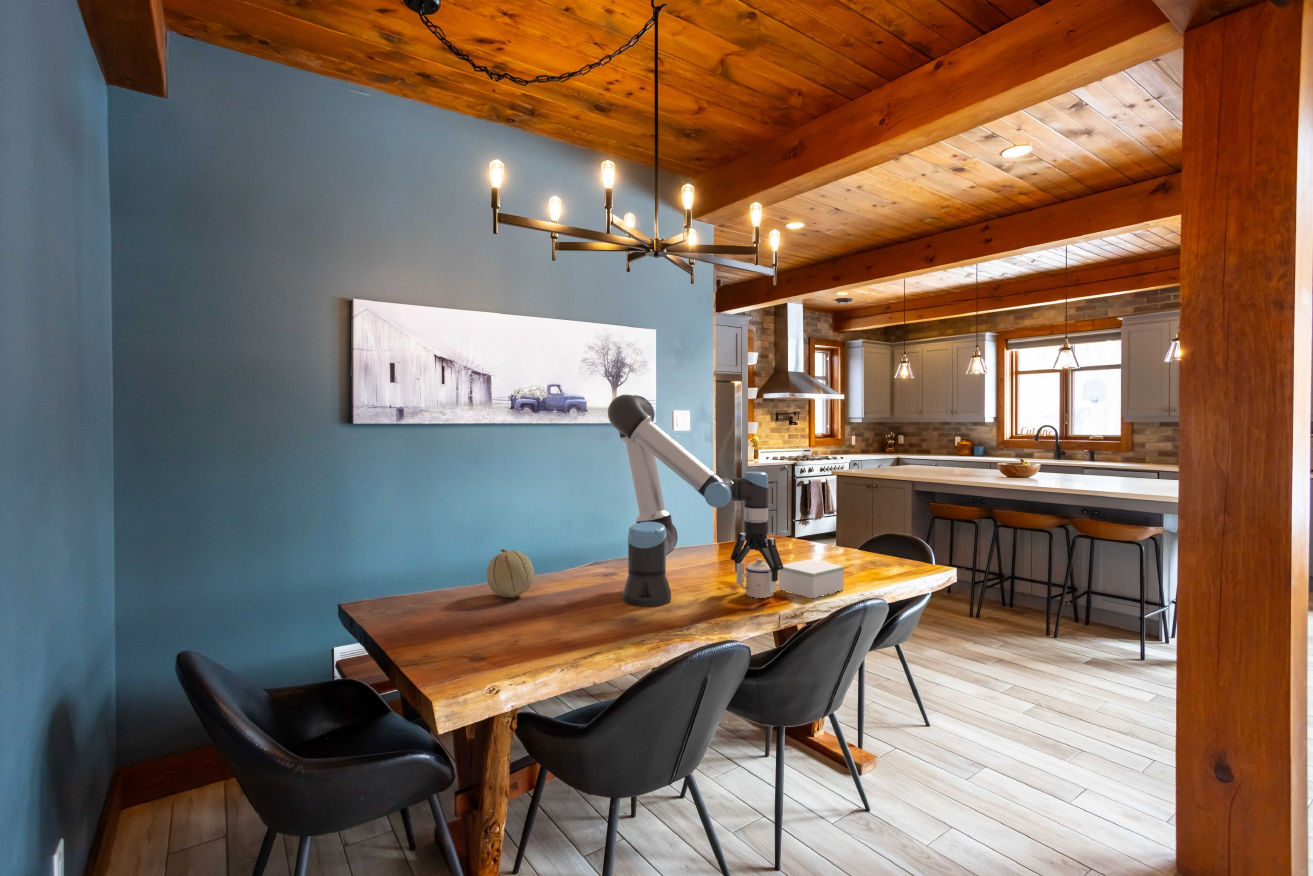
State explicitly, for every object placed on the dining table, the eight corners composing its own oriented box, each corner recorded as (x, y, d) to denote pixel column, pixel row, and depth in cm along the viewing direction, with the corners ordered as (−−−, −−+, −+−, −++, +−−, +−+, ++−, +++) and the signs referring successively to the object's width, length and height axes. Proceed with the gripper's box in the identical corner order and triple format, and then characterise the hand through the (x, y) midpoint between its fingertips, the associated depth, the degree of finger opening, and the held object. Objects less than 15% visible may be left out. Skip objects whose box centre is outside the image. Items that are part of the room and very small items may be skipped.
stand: (777, 590, 218) (778, 565, 218) (808, 582, 228) (808, 559, 228) (813, 599, 207) (813, 573, 207) (843, 590, 217) (844, 566, 217)
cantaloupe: (529, 603, 202) (529, 554, 201) (481, 603, 202) (481, 554, 201) (538, 590, 217) (538, 545, 216) (493, 590, 216) (492, 544, 216)
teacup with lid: (763, 590, 218) (764, 555, 217) (779, 597, 209) (780, 560, 209) (732, 594, 213) (732, 558, 212) (746, 601, 204) (747, 564, 204)
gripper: (795, 524, 203) (794, 593, 204) (735, 515, 222) (735, 577, 223) (779, 526, 198) (778, 597, 199) (719, 517, 217) (719, 581, 218)
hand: (755, 587), depth 211 cm, fingers open, 13 cm apart
